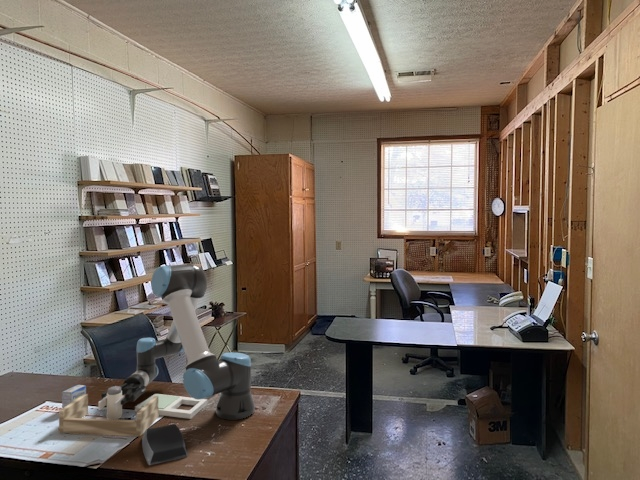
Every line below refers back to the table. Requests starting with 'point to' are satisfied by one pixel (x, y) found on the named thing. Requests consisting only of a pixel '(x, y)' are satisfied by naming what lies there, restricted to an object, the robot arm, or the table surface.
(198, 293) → the robot arm
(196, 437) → the table surface
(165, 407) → the hole board
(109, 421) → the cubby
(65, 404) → the medicine box
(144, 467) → the table surface
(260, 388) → the table surface
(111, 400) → the cream bottle
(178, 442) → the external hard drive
